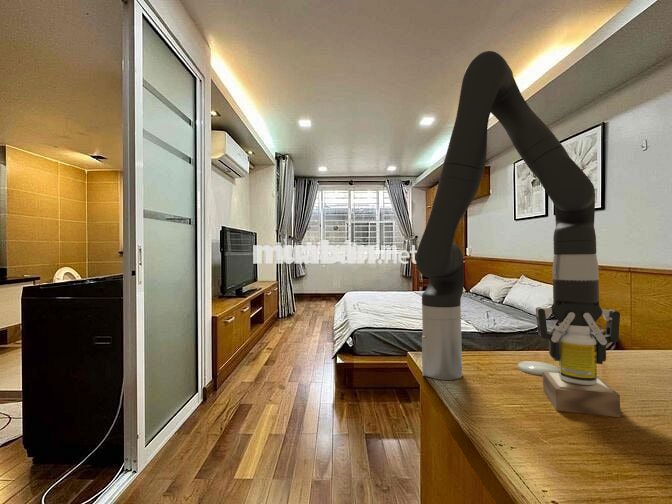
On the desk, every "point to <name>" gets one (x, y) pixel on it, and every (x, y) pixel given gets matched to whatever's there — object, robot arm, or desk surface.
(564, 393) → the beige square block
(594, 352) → the pill bottle
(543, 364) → the pale white disc
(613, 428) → the desk surface
